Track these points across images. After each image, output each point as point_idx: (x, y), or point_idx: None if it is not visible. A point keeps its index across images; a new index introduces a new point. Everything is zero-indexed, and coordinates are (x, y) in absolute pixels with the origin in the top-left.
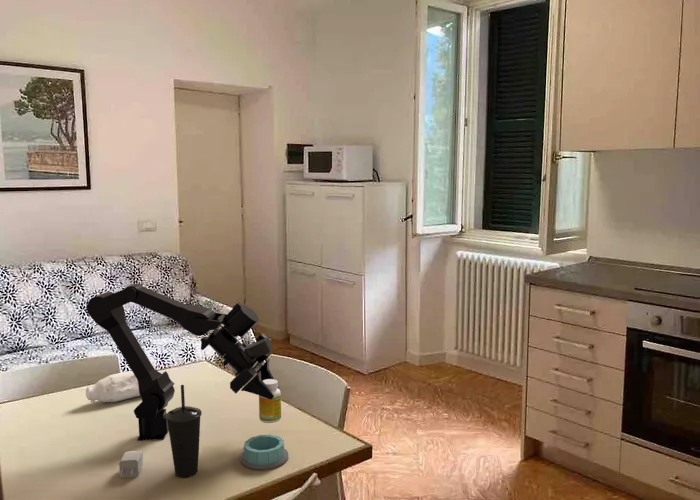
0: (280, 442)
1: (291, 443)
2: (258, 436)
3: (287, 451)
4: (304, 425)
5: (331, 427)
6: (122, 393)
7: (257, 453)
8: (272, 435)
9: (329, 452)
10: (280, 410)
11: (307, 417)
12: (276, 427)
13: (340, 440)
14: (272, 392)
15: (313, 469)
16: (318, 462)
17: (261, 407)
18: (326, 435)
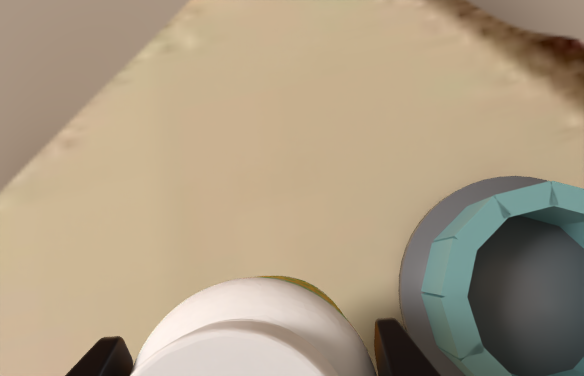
0: (531, 204)
1: (327, 210)
2: (479, 365)
3: (455, 192)
4: (112, 200)
5: (128, 68)
6: None
7: None
8: (448, 279)
9: (389, 22)
10: (276, 276)
11: (10, 210)
12: None
13: (263, 2)
14: (331, 357)
15: (558, 50)
16: (491, 45)
17: None
18: (218, 71)
